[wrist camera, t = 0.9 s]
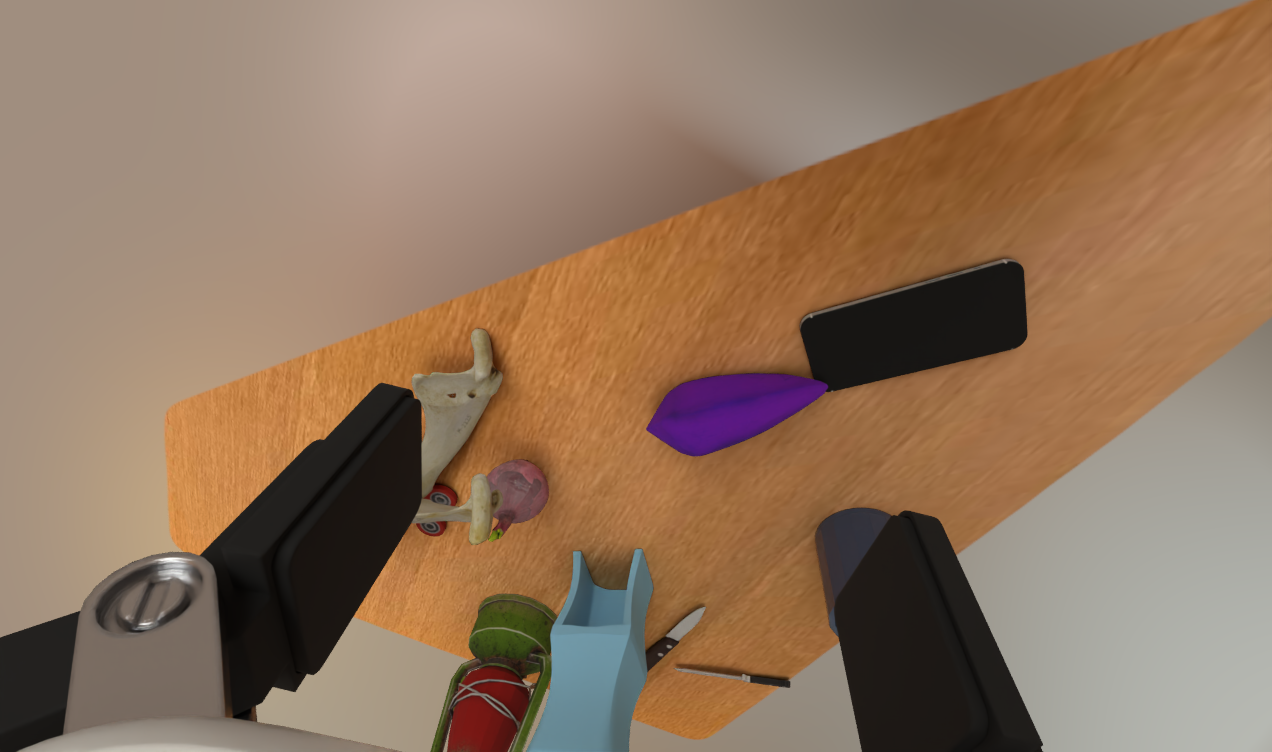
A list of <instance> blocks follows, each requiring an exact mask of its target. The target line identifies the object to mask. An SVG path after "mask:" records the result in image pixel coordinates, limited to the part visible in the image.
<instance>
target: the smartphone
mask: <svg viewBox="0 0 1272 752" xmlns="http://www.w3.org/2000/svg"><path fill="white" fill-rule="evenodd" d="M800 331H801V335H802V338H803V342H804V345H805V348H806V352H807V355H808V359H809V362H810V366H811V369H812V373H813V376H814V380H818V381H821V382H823V383H826V384H827V385H828V389H827V390H826V392H832V391H837V390H841V389H845V388H849V387H854V386H858V385H862V384H867V383H871V382H875V381H879V380H884V379H888V378H892V377H896V376H901V375H905V374H909V373H914V372H918V371H922V370H926V369H931V368H935V367H939V366H943V365H948V364H952V363H956V362H961V361H965V360H969V359H973V358H978V357H982V356H986V355H990V354H995V353H999V352H1003V351H1007V350H1012V349H1015V348H1017V347H1019V346H1020V345H1022V344H1023V343H1024V341H1025V340H1026V338H1027V316H1026V299H1025V281H1024V269H1023V267H1022V266H1021V265H1020V264H1019V263H1018V262H1017V261H1015V260H1013V259H1002V260H999V261H995V262H992V263H988V264H985V265H981V266H977V267H974V268H970V269H967V270H963V271H960V272H956V273H953V274H949V275H945V276H942V277H938V278H935V279H931V280H928V281H924V282H921V283H917V284H913V285H910V286H906V287H903V288H899V289H896V290H892V291H889V292H885V293H881V294H878V295H874V296H871V297H867V298H864V299H860V300H857V301H853V302H849V303H846V304H842V305H839V306H835V307H832V308H828V309H825V310H821V311H817V312H814V313H811V314H808V315H806V316H805V317H804V318H803V319H802V321H801V323H800Z"/></svg>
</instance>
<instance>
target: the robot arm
mask: <svg viewBox="0 0 1272 752" xmlns="http://www.w3.org/2000/svg"><path fill="white" fill-rule="evenodd" d="M421 500H422V425H421V402H420V400H418V399H415V398H414V395H413V392H412V391H411V390H410V389H405V388H401V387H397V386H393V385H389V384H385V383H380V384H378V385H377V386H375V387H374V389H373V390H372V391H371V392H370V393H369V394H368V395H367V396H366V397H365V398H364V399H363V400H362V401H361V402H360V403H359V404H358V405H357V406H356V407H355V408H354V409H353V410H352V411H351V413H350V414H349V415H348V416H347V417H346V418H345V419H344V420H343V421H342V422H341V423H340V424H339V425H338V426H337V427H336V428H335V429H334V430H333V431H332V432H331V433H330V434H329V435H328V436H327V438H326V439H325V440H321V439H319V440H316V441H314V442H312V443H311V444H310V445H309V446H307V447H306V448H305V449H304V450H303V451H302V452H301V453H300V454H299V455H298V456H297V457H296V458H295V459H294V460H293V461H292V462H291V463H290V464H289V465H288V466H287V467H286V468H285V469H284V470H283V471H282V472H281V473H280V474H279V475H278V476H277V478H276V479H275V480H274V481H273V482H272V483H271V484H270V485H269V486H268V487H267V488H266V489H265V490H264V491H263V492H262V493H261V494H260V495H259V496H258V497H257V498H256V499H255V500H254V501H253V502H252V503H251V504H250V505H249V506H248V507H247V508H246V509H245V510H244V511H243V512H242V513H241V514H240V515H239V516H238V517H237V518H236V519H235V520H234V521H233V522H232V523H231V524H230V525H229V526H228V527H227V528H226V529H225V530H224V531H223V532H222V533H221V534H220V535H219V536H218V537H217V538H216V539H215V540H214V541H213V542H212V543H211V544H210V545H209V547H208V548H207V549H206V550H205V551H204V552H203V553H202V554H201V555H200V556H198V555H195V554H192V553H189V552H168V553H162V554H156V555H151V556H148V557H146V558H143V559H140V560H137V561H134V562H132V563H130V564H128V565H126V566H125V567H122V568H121V569H119V570H117V571H115V572H114V573H112V574H111V575H109V576H108V577H107V578H106V579H104V580H103V581H102V582H101V583H99V584H98V585H97V586H96V587H95V588H94V589H93V591H92V592H91V593H90V594H89V596H88V597H87V598H86V599H85V601H84V603H83V606H82V609H81V611H78V612H75V613H72V614H70V615H67V616H63V617H60V618H57V619H54V620H51V621H48V622H45V623H42V624H40V625H36V626H33V627H31V628H27V629H24V630H22V631H18V632H15V633H12V634H10V635H6V636H3V637H1V638H0V752H400V751H397V750H392V749H387V748H384V747H379V746H374V745H370V744H365V743H360V742H355V741H351V740H345V739H341V738H336V737H332V736H327V735H322V734H318V733H312V732H308V731H303V730H299V729H294V728H289V727H284V726H278V725H272V724H265V723H259V722H257V715H256V705H258V704H260V703H262V702H263V700H264V699H265V697H266V696H267V694H268V693H269V691H270V690H271V688H272V687H276V688H280V689H284V690H288V691H292V692H296V690H297V688H298V687H299V685H300V684H301V682H302V681H303V679H304V678H305V676H306V674H310V675H314V674H316V673H317V672H318V671H319V670H320V669H321V667H322V666H323V664H324V663H325V661H326V660H327V658H328V656H329V655H330V653H331V652H332V650H333V648H334V647H335V645H336V643H337V642H338V640H339V639H340V637H341V635H342V634H343V632H344V631H345V629H346V627H347V626H348V624H349V623H350V621H351V619H352V618H353V616H354V615H355V613H356V611H357V610H358V608H359V606H360V605H361V603H362V602H363V600H364V598H365V597H366V595H367V594H368V592H369V590H370V589H371V587H372V585H373V584H374V582H375V581H376V579H377V577H378V576H379V574H380V573H381V571H382V569H383V568H384V566H385V564H386V563H387V561H388V560H389V558H390V556H391V555H392V553H393V552H394V550H395V548H396V547H397V545H398V544H399V542H400V540H401V539H402V537H403V535H404V534H405V532H406V531H407V529H408V527H409V526H410V524H411V523H412V521H413V519H414V518H415V516H416V514H417V512H418V510H419V507H420V504H421ZM834 616H835V622H836V626H837V631H838V636H839V641H840V646H841V651H842V656H843V661H844V666H845V670H846V675H847V680H848V685H849V690H850V695H851V700H852V705H853V709H854V715H855V720H856V724H857V729H858V734H859V739H860V744H861V749H862V752H1043V751H1042V749H1041V746H1042V745H1043V743H1042V741H1041V739H1040V737H1039V735H1038V733H1037V731H1036V728H1035V726H1034V724H1033V722H1032V720H1031V717H1030V715H1029V713H1028V711H1027V709H1026V706H1025V704H1024V702H1023V700H1022V698H1021V696H1020V693H1019V691H1018V689H1017V687H1016V685H1015V683H1014V680H1013V678H1012V676H1011V674H1010V672H1009V670H1008V667H1007V665H1006V663H1005V661H1004V659H1003V656H1002V654H1001V652H1000V650H999V648H998V646H997V643H996V641H995V639H994V637H993V635H992V633H991V631H990V628H989V626H988V624H987V622H986V620H985V617H984V615H983V613H982V611H981V609H980V606H979V604H978V602H977V600H976V598H975V596H974V593H973V591H972V589H971V587H970V585H969V583H968V580H967V578H966V576H965V574H964V572H963V570H962V567H961V565H960V563H959V561H958V559H957V556H956V554H955V552H954V550H953V548H952V546H951V543H950V541H949V539H948V537H947V535H946V533H945V530H944V528H943V526H942V524H941V522H940V521H939V520H938V519H937V518H935V517H932V516H928V515H924V514H920V513H915V512H911V511H903V512H901V513H900V514H899V515H898V516H895V515H893V516H891V517H890V518H889V520H888V521H887V523H886V524H885V526H884V527H883V529H882V530H881V532H880V533H879V535H878V536H877V538H876V539H875V541H874V542H873V544H872V545H871V547H870V548H869V550H868V551H867V553H866V554H865V556H864V557H863V559H862V560H861V562H860V563H859V565H858V566H857V568H856V569H855V571H854V572H853V574H852V575H851V577H850V578H849V580H848V581H847V583H846V584H845V586H844V587H843V589H842V590H841V592H840V593H839V595H838V596H837V598H836V601H835V606H834Z"/></svg>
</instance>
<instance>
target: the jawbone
mask: <svg viewBox="0 0 1272 752" xmlns="http://www.w3.org/2000/svg"><path fill="white" fill-rule="evenodd" d="M471 342H472V346H473V349H474V365H473V367H472V368H471V369H470V370H467V371H465V372H460V373H439V372H432V373H431V374H430V375H423V374H415V375H414V376H413V378H412V386H413V389H414V392H415V394H416V396H417V398H418V400H420V402H421V405H422V407H423V409H424V413H425V418H426V430H425V436H424V439H423V441H422V500H421V504H420V507H419V510H418V512H417V514H416V516H415V518H414V519H413V521H412V523H429V522H436V521H460V522H471V526H470V531H469V542H470V543H471V545H478V544H480V543H482V542H484V541H486V540H487V539H488V537H489V535H490V532H491V527H492V521H493V515H494V513H495V512H497V511H498V510H499V508H500V507H501V506H502V504H503V500H504V499H503V494H502V492H500V491H499V490H498V489H497V490H493V492H492V493H491V490H490V485H489V481H488V478H487V477H486V476H485V475H484V474H480V473H479V474H477V475H475V476H473V478H472V481H471V496H470V498H469V500H468V501H467V502H466V504H464V505H462V506H461V507H456V506H448V505H444V504H438V503H434V502H432V501H431V500H429V499H423V498H424V497H426V496H427V495H428V494H429V493H430V492H431V491H432V489H433V486H434V483H435V481H436V479H437V478H438V476H439V475H440V473H441V472H442V470H443V469H444V468H445V467H446V466H447V465H448V463H449V462H450V461H451V460H452V459H453V457H454V456H455V455H456V454H457V452H458V451H459V450H460V449H461V447H462V446H463V445H464V443H465V442H466V440H467V439H468V437H469V436H470V434H471V432H472V431H473V429H474V427H475V425H476V424H477V422H478V420H479V418H480V417H481V415H482V413H483V411H484V410H485V408H486V406H487V404H488V402H489V400H490V398H491V395H493V394H495V393H496V392H497V390H498V388H499V386H500V384H501V382H502V379H503V374H502V373H501V372H500V371H499V370H497V369H496V368H495V366H494V365H493V362H492V358H493V355H492V348H491V342H490V338H489V335H488V333H487V332H486V331H485V330H483V329H475V330H473V332H472V334H471ZM453 393H455V394H456V397H455V398H450V397H449V396H447V395H448V394H453ZM452 396H453V395H452Z"/></svg>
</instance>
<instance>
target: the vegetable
mask: <svg viewBox="0 0 1272 752" xmlns="http://www.w3.org/2000/svg"><path fill="white" fill-rule="evenodd" d="M487 478H488V481H489V485H490V490H491V493H492V492H493V490H497V489H498V490H499V491H500V492H502V494H503V499H504V500H503V504H502V506H501V507H500V508H499V510H498V511H497V512H495V513H494V515H493V517H495V518H496V519H498V520H499V523H498V524H497V526H496V527H495V528H494V529H493V530H494V531H493V530H492V531H493V532H492V534H491V536H490V538H488V540H489V541H491V542H493V541H494V540H495V539H500V538H501V537H502V536H503V534H504V533H505V532H506V531H507V529H508V528H509V526H510V525H511V523H521V522H524V521H527V520H530V519H531V518H533V517H535V516H536V515H537V514H539V513H540V512H541V510H542V509H543V508H544V506H545V504H546V502H547V500H548V496H549V487H548V482H547V480H546V477H545V476H544V474H543V472H542V471H541V470H540V469H539V468H538V467H537V466H535V465H534V464H532V463H530V462H528V460H511V461H508V462H505V463H503V464H501V465H499V466H497V467H496V468H494V469H493V470H492V471H491V472H490V473H489V474H488V476H487Z"/></svg>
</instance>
